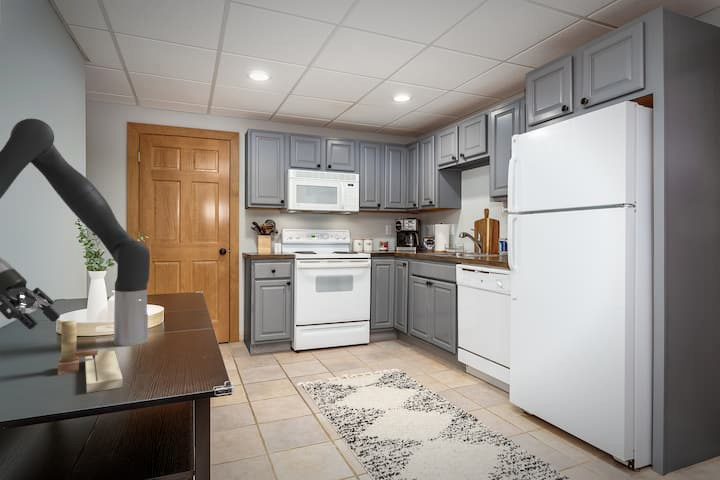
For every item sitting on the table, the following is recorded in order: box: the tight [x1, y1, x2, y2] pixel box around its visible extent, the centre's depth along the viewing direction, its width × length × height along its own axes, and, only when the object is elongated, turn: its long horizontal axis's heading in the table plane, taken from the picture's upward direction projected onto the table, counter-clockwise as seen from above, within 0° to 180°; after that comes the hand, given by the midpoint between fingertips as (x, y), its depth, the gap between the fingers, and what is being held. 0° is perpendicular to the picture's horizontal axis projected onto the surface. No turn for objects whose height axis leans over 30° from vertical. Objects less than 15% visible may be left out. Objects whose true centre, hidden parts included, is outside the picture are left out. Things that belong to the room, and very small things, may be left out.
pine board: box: [84, 350, 124, 394], centre depth 106 cm, size 7×26×2 cm, turn 34°
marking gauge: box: [57, 320, 99, 376], centre depth 109 cm, size 8×6×12 cm
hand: (46, 322), depth 107 cm, fingers open, 8 cm apart
